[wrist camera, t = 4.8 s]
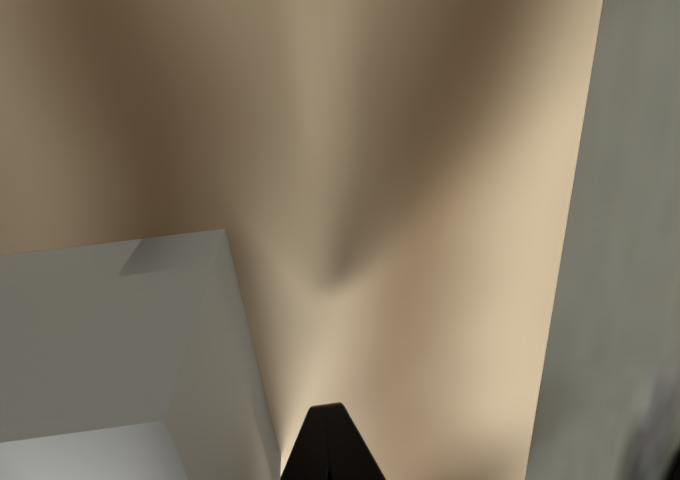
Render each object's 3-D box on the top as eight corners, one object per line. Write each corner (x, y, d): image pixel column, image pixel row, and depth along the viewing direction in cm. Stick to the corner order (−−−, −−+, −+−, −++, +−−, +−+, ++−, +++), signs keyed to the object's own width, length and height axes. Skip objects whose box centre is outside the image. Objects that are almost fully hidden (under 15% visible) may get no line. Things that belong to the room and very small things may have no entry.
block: (225, 228, 9) (163, 420, 5) (280, 458, 13) (274, 680, 9) (-154, 274, 9) (-570, 520, 5) (15, 495, 13) (-127, 745, 9)
